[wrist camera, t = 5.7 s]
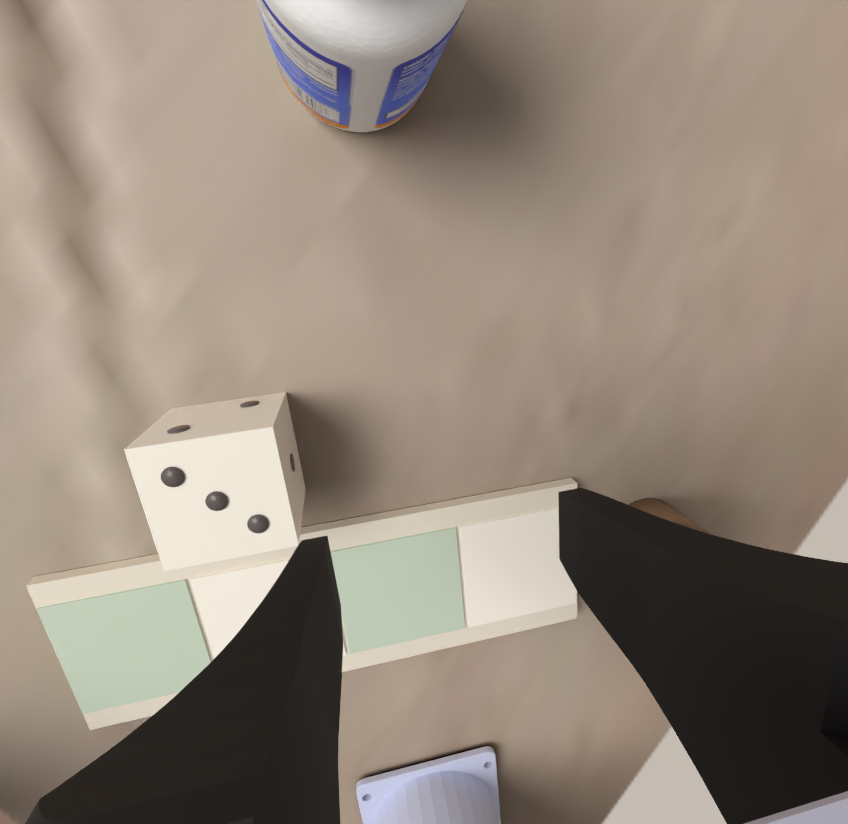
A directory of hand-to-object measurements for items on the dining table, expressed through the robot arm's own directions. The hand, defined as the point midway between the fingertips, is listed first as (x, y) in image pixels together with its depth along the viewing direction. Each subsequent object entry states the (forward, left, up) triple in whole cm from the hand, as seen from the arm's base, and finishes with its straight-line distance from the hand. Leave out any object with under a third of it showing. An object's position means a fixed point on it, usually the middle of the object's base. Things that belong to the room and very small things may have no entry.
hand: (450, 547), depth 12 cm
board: (-8, +4, -9) cm, 13 cm away
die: (0, +7, -10) cm, 12 cm away
